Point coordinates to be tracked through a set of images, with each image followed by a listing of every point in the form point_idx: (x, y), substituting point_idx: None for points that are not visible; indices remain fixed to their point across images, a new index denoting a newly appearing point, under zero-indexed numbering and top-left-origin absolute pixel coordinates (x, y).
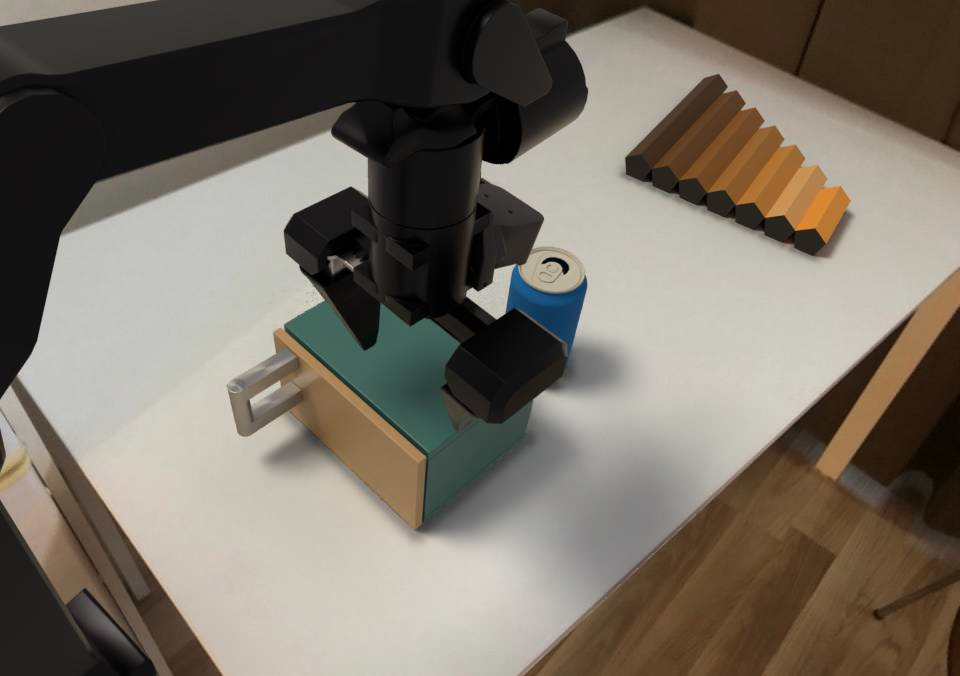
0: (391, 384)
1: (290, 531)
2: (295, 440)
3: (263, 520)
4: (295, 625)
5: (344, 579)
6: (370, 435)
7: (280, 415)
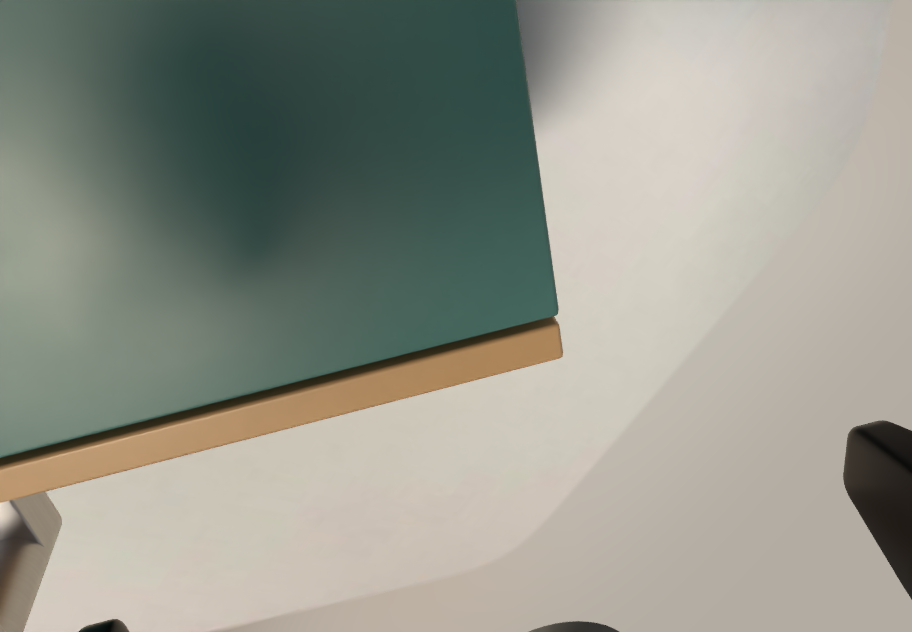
0: (167, 301)
1: None
2: None
3: (263, 456)
4: (512, 464)
5: None
6: None
7: None
